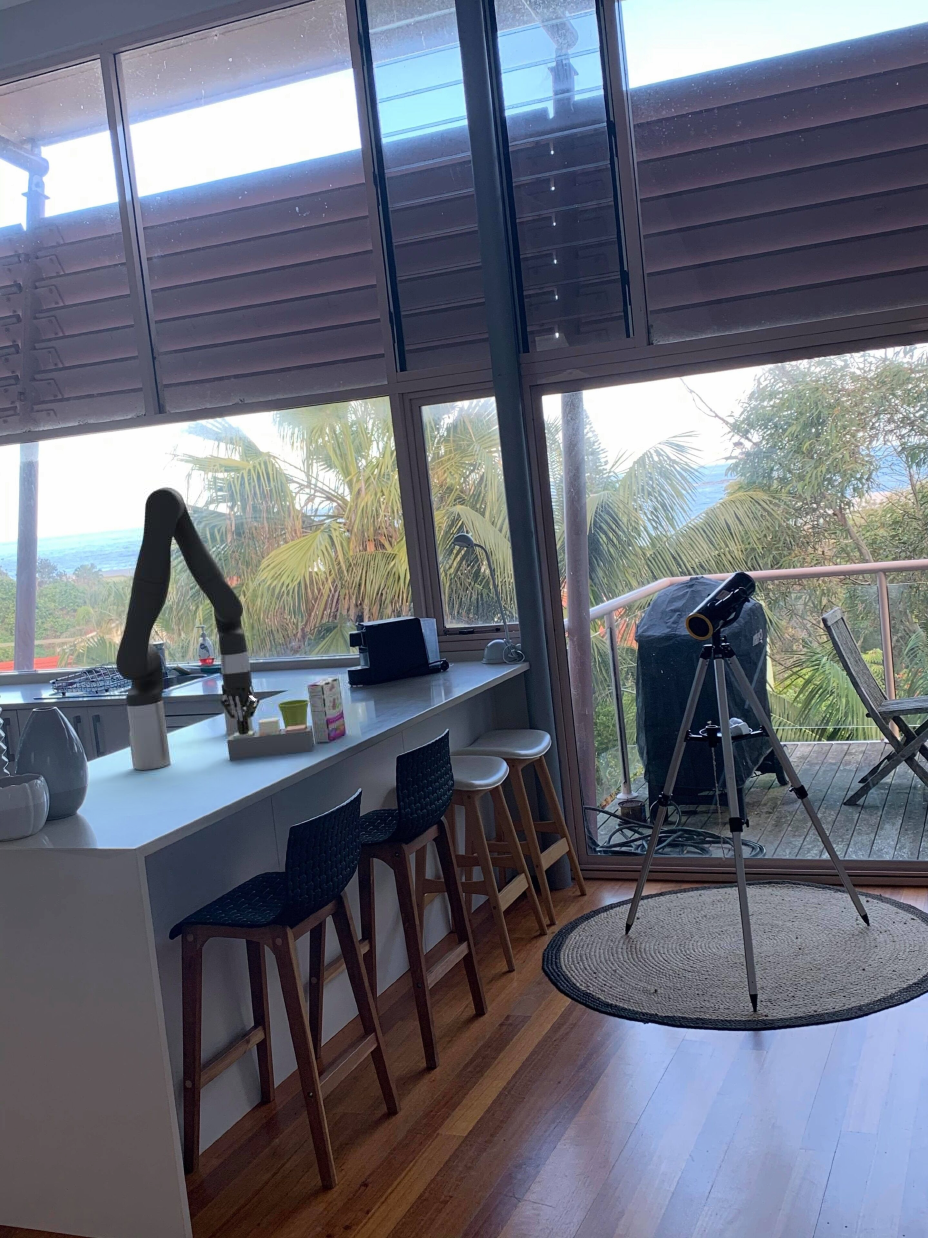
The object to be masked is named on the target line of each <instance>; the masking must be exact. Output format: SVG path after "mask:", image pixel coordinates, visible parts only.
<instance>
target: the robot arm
mask: <svg viewBox="0 0 928 1238" xmlns="http://www.w3.org/2000/svg"><path fill="white" fill-rule="evenodd" d="M144 506H145V507H144V522H143V523H144V524H143V534H142V541H141V545H140V548H139V552H138V556H137V560H136V565H135V568H134V569H135V570H134V574H133V578H132V585H131V589H130V590H131V591H130V598H129V604H128V609H127V613H126V614H127V615H126V619H125V620H126V621H125V626H124V630H123V633H122V636H121V639H120V643H119V647H118V649H117V654H116V658H115V662H116V663H115V666H116V669H117V672H118V674H119V675H120V676H121V678H123V679H125V680H127V681H131V686H130V689H129V691H128V693H127V694H126V697H125V700H126V701H125V702H126V708H127V715H128V716H127V717H128V722H129V731H130V732H129V733H128V739H129V747H130V755H131V761H132V763H131V764H132V768H133V769H135V770H139V771H144V770H155V769H159V768H160V769H161V768H163V767H164V768H165V767H167V766H169V765H170V764H171V756H170V748H169V747H170V746H169V740H168V733H167V725H166V718H165V711H164V709H165V708H164V703H163V702H164V701H163V692H164V673H163V672H164V671H163V663H162V658H161V653H160V651H159V650H158V649H157V647H156V646H155V645H154V644H152V643H150V640H151V639H150V638H151V634H152V631H153V628H154V625H155V624H156V622H157V620H158V618H159V616H160V614H161V612H162V610H163V608H164V606H165V604H166V601H167V598H168V593H169V588H170V582H171V575H172V574H171V573H172V554H171V551H172V542H173V539H174V541H175V543H176V544H177V546H178V549H179V551H180V553H181V554H182V555H181V556H182V558H183V561H184V562H185V565H186V567H187V569H188V570H189V573H190V575H191V576H192V577H193V579H194V581H195V583H196V584H197V586H198V588H200V590H201V592H202V593H203V594H204V595H205V596H206V597H207V599H208V601H209V602H210V604H211V606H212V608H213V614H214V621H215V624H216V630H217V633H218V645H219V652H220V668H221V676H222V677H221V678H222V684H223V686H224V689H226V690H227V692H226V696H227V697H226V698H225V699H224V700H223V699H221V701H220V704H221V706H222V707H223V709H224V708H225V710H226V711H227V713H228V714H229V716H230V717H231V718H234V719H235V720H236V721H237V726H238V732H239V734H246V733H248V732H249V725H248V719H249V718H250V717H251V718H253V717H254V715H255V713H256V711H257V708H258V706H259V703H260V699H259V698H255V696H254V697H253V696H252V692H251V687H250V686H251V685H252V686H253V681H252V680H253V679H252V673H251V665H250V659H249V655H248V648H247V640H246V635H245V633H244V630H243V626H242V625H243V624H242V616H243V613H244V607H243V603H242V602H241V600H240V598H239V596H238V595H237V593H236V592H235V591H234V589H233V588H232V587H231V585H230V584H229V583H228V581H227V580H226V578H225V576H224V574H223V572H222V571H221V569H220V567H219V565H218V564H217V562H216V560H215V559H214V557H213V556H212V553H210V550H209V549H208V548H207V546H206V544H205V543H204V541H203V540H202V539H203V538H201V536H200V534H199V532H198V530H197V529H196V526H195V524H194V522H193V520H192V519H191V516H190V513H189V510H188V508H187V506H186V503H185V500H184V498H183V496H182V494H181V493H180V492H179V491H178V490H177V489H175V488H173V487H168V486H167V487H159V488H158V489H155V490H153V491H152V492H150V494H149V495H148V496H147V498H146V501H145V505H144ZM233 712H234V713H233Z"/></svg>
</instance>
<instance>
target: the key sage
mask: <svg viewBox="0 0 928 1238" xmlns="http://www.w3.org/2000/svg"><path fill="white" fill-rule="evenodd" d="M254 732H255V730H254V731H249V732H248V733H246V734H239V733H235V734H234V736H233V739H236V738H245V737H253V736H254Z"/></svg>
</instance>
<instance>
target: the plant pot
mask: <svg viewBox="0 0 928 1238" xmlns="http://www.w3.org/2000/svg"><path fill="white" fill-rule="evenodd" d="M309 704H310V701H309V700H308V699H292V700H286V701H282V702H279V703H277V707H278V708H279V711H280V713H281V716H282V721H283V724H284V729H286V728H287V727H290V726H299V725H306V726H308V724H307V723H308V722H307V721H308V708H309Z"/></svg>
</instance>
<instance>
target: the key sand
mask: <svg viewBox="0 0 928 1238" xmlns="http://www.w3.org/2000/svg"><path fill="white" fill-rule="evenodd" d="M257 724H258V732H259V733H260V734H267V735H271V733H275V732H278V733H280V729H281V727H280V726H281V725H280V717H279V716H278V717H271V718H262V719H259V720H258V723H257Z"/></svg>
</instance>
